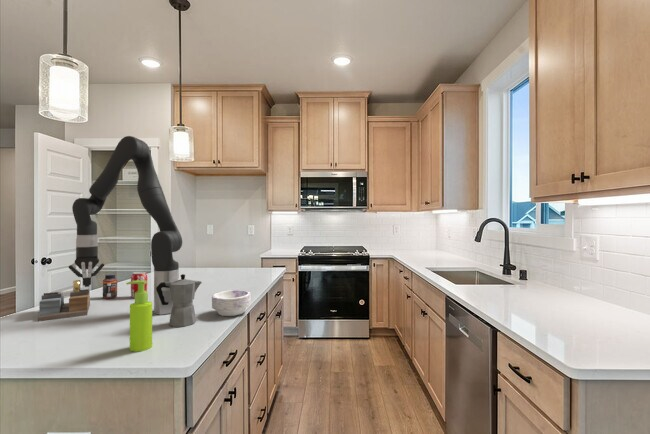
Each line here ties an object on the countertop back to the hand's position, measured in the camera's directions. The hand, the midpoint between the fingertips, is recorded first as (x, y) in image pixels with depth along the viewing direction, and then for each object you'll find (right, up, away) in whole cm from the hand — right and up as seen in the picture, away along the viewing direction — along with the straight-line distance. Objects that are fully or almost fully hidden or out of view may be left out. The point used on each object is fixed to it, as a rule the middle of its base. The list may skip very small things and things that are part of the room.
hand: (87, 286), depth 142 cm
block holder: (-6, -10, -4) cm, 12 cm away
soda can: (+10, -10, +21) cm, 26 cm away
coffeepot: (+47, -10, -19) cm, 52 cm away
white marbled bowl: (+63, -10, -5) cm, 64 cm away
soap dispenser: (+45, -10, -42) cm, 62 cm away
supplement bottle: (-3, -10, +20) cm, 23 cm away
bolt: (-5, -3, -3) cm, 7 cm away
